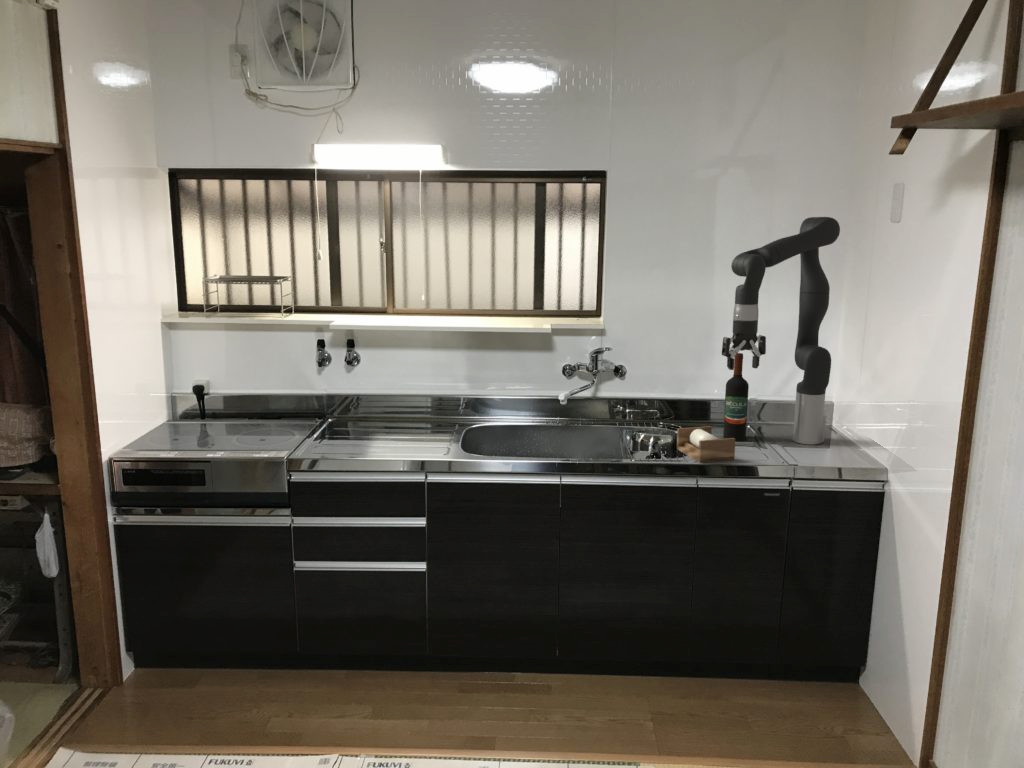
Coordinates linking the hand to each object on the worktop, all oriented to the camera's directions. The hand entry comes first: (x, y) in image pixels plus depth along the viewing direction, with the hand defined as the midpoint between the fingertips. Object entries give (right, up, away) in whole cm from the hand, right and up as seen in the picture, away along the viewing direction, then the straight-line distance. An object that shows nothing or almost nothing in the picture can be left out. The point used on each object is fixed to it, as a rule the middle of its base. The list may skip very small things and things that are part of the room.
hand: (742, 368), depth 241 cm
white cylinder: (-13, -26, +4) cm, 29 cm away
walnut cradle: (-11, -28, +5) cm, 30 cm away
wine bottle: (+4, -24, +23) cm, 33 cm away
